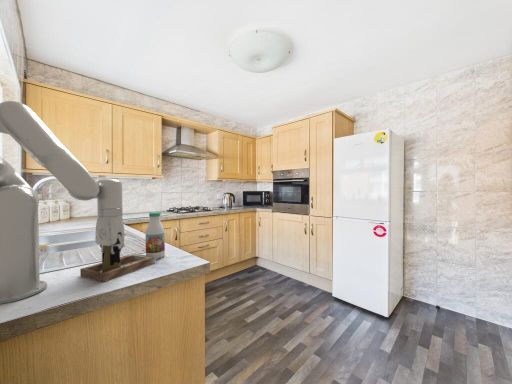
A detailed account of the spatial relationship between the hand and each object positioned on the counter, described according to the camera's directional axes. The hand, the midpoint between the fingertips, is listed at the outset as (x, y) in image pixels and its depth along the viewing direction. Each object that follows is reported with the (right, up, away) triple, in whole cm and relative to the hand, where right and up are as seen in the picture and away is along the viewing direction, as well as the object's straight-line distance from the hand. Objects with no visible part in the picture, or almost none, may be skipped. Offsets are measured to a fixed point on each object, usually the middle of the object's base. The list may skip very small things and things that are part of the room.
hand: (111, 262), depth 78 cm
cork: (0, -3, 0) cm, 3 cm away
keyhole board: (+1, -3, +3) cm, 5 cm away
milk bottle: (+8, -3, +17) cm, 20 cm away
